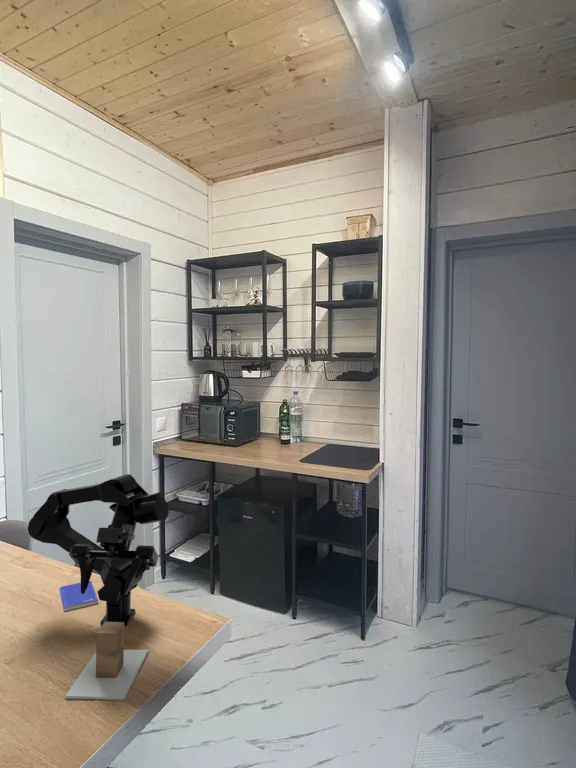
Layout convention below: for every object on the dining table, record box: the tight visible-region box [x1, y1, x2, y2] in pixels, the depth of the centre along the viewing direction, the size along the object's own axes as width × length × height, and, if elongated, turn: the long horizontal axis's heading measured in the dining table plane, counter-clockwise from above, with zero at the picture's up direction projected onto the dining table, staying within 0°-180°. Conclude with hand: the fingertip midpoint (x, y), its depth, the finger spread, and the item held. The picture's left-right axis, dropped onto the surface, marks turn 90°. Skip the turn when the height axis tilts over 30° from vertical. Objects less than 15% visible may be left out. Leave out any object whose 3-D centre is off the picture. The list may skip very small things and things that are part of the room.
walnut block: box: [95, 622, 125, 678], centre depth 89 cm, size 4×4×9 cm
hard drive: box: [59, 580, 99, 612], centre depth 119 cm, size 2×8×12 cm
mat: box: [65, 649, 149, 701], centre depth 89 cm, size 14×11×1 cm
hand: (103, 594), depth 95 cm, fingers open, 9 cm apart
